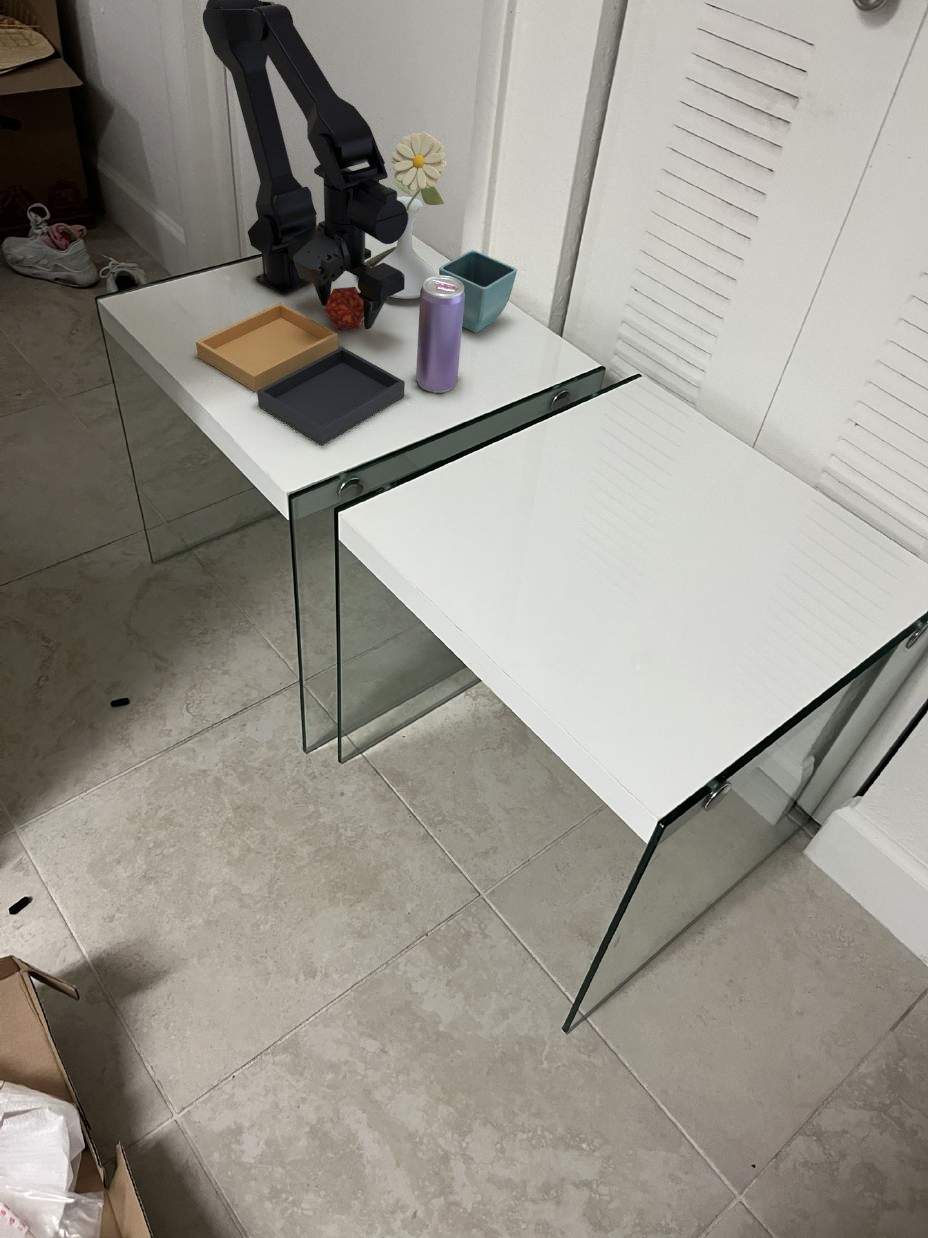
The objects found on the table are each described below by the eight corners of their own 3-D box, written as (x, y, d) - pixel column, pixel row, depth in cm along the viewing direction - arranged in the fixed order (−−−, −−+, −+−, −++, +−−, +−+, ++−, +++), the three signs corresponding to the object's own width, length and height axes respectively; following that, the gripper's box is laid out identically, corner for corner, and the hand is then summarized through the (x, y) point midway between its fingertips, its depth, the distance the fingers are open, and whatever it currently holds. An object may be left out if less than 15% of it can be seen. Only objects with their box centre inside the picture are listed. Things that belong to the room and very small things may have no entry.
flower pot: (512, 322, 149) (518, 268, 143) (479, 343, 144) (485, 288, 138) (467, 302, 153) (472, 248, 146) (434, 322, 147) (437, 267, 141)
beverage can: (452, 397, 134) (460, 299, 123) (411, 390, 134) (416, 292, 123) (460, 375, 138) (469, 278, 127) (421, 368, 138) (426, 271, 127)
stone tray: (258, 406, 129) (256, 390, 127) (342, 361, 138) (342, 346, 136) (321, 445, 124) (321, 429, 122) (404, 396, 133) (404, 381, 131)
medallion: (394, 244, 149) (397, 249, 150) (402, 247, 157) (404, 251, 157) (351, 269, 151) (353, 273, 151) (360, 270, 159) (362, 274, 159)
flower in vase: (353, 286, 153) (352, 121, 134) (401, 264, 159) (406, 104, 141) (412, 317, 148) (419, 151, 129) (460, 293, 154) (473, 131, 136)
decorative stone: (361, 328, 149) (371, 334, 142) (318, 324, 147) (327, 331, 140) (364, 285, 146) (375, 290, 139) (321, 281, 144) (330, 285, 137)
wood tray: (197, 356, 136) (195, 341, 134) (281, 317, 145) (280, 302, 143) (255, 392, 131) (254, 376, 129) (338, 348, 140) (338, 333, 138)
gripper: (256, 209, 132) (264, 311, 143) (352, 257, 125) (353, 361, 136) (314, 187, 138) (317, 287, 150) (409, 232, 131) (405, 333, 142)
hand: (346, 316), depth 144 cm, fingers open, 9 cm apart
